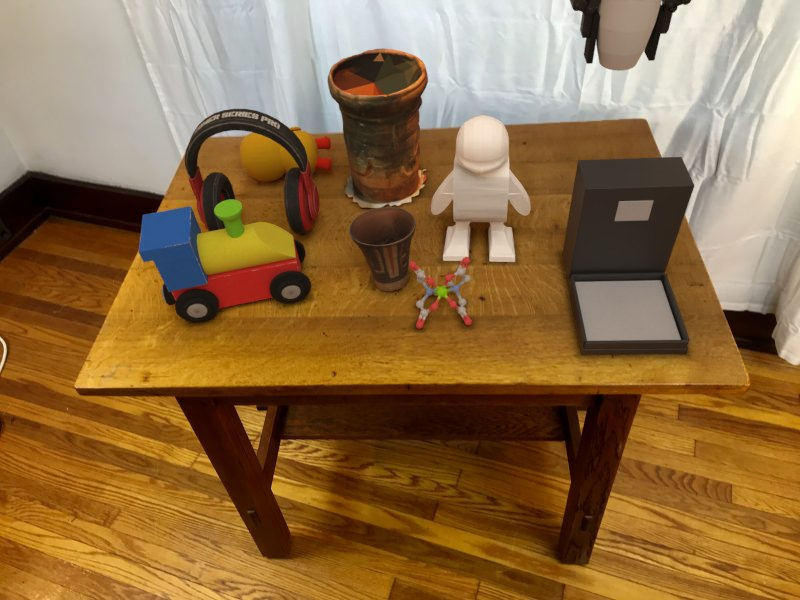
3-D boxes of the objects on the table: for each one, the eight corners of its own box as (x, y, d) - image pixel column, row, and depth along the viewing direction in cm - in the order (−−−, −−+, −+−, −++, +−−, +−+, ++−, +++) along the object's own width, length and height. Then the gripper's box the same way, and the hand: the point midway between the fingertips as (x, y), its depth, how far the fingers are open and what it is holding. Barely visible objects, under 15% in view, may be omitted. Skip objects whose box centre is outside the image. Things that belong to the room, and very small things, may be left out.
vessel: (433, 210, 97) (429, 92, 82) (342, 215, 98) (322, 99, 83) (430, 157, 107) (426, 43, 92) (348, 161, 107) (330, 49, 93)
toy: (332, 135, 108) (246, 139, 108) (327, 116, 100) (233, 121, 99) (334, 186, 107) (247, 190, 107) (329, 171, 99) (235, 175, 99)
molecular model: (411, 290, 86) (407, 251, 80) (468, 286, 85) (469, 246, 80) (413, 330, 81) (410, 291, 75) (474, 326, 80) (475, 286, 75)
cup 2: (660, 67, 85) (678, -9, 78) (609, 81, 84) (623, 5, 76) (624, 44, 91) (638, -30, 83) (576, 57, 89) (586, -17, 82)
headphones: (324, 205, 100) (301, 90, 85) (319, 247, 93) (293, 130, 78) (217, 211, 101) (176, 98, 86) (204, 253, 94) (157, 138, 79)
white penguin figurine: (430, 260, 89) (424, 140, 75) (434, 220, 95) (429, 101, 81) (528, 262, 88) (542, 139, 73) (525, 221, 94) (538, 100, 79)
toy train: (171, 286, 89) (130, 204, 78) (308, 259, 91) (287, 175, 80) (168, 332, 83) (124, 251, 72) (315, 302, 85) (293, 218, 74)
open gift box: (686, 354, 75) (728, 258, 64) (581, 355, 76) (604, 261, 64) (651, 252, 87) (681, 156, 76) (562, 254, 88) (577, 160, 77)
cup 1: (389, 246, 92) (383, 191, 85) (432, 274, 87) (430, 219, 80) (344, 277, 88) (333, 223, 81) (387, 309, 84) (380, 255, 76)
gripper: (739, -153, 72) (687, 41, 88) (559, -140, 73) (540, 49, 90) (762, -137, 67) (702, 66, 83) (568, -123, 68) (547, 74, 85)
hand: (618, 57), depth 87 cm, fingers closed on cup 2, 8 cm apart
